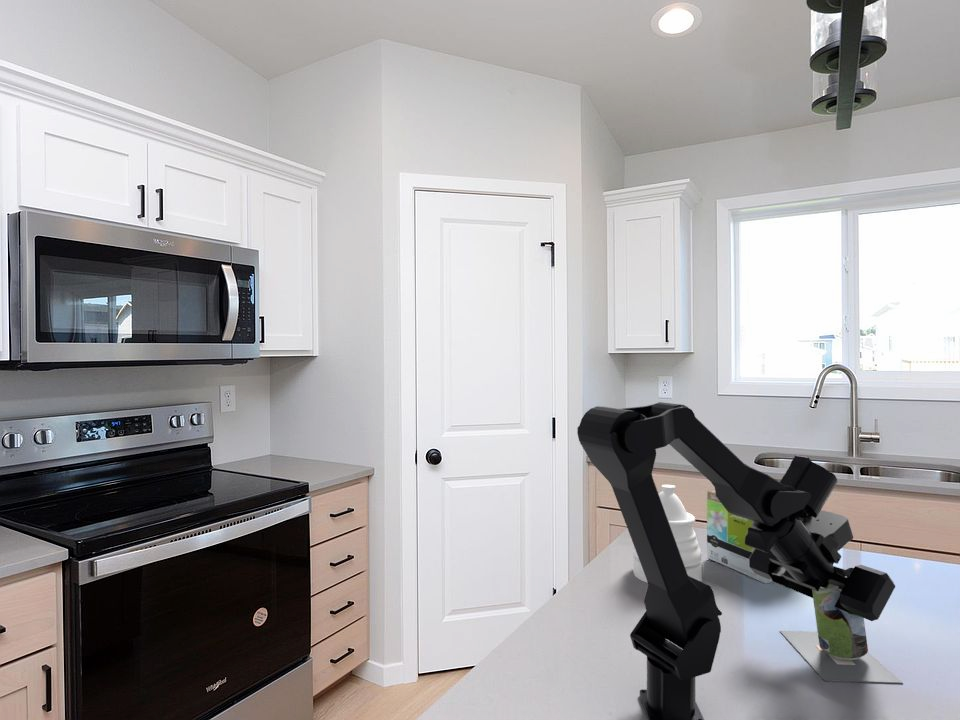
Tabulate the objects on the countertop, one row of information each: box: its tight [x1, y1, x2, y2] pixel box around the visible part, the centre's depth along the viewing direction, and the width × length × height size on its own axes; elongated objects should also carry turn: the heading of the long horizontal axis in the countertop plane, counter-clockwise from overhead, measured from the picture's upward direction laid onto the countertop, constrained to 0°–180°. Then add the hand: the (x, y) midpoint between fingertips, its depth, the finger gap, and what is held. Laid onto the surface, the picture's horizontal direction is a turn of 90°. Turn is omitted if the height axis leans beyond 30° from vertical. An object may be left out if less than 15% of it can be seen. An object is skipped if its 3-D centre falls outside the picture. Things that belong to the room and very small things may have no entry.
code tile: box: [779, 630, 904, 685], centre depth 87 cm, size 14×10×1 cm
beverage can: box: [812, 568, 869, 660], centre depth 86 cm, size 6×7×12 cm
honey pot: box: [632, 484, 703, 584], centre depth 118 cm, size 13×13×18 cm
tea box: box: [706, 490, 774, 584], centre depth 121 cm, size 15×10×15 cm, turn 25°
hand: (841, 606), depth 87 cm, fingers closed on beverage can, 6 cm apart
